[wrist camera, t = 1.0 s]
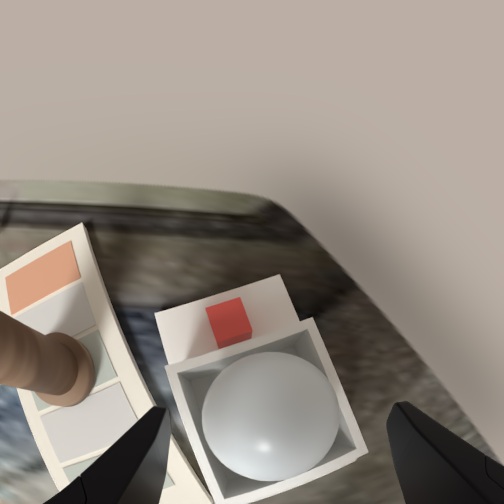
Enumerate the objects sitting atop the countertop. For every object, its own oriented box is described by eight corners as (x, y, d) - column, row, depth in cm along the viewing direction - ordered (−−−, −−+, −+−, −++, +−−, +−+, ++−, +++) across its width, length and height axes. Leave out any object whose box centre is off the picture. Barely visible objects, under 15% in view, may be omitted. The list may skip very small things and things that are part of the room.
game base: (351, 458, 18) (385, 470, 13) (224, 506, 16) (219, 535, 11) (278, 279, 23) (288, 242, 19) (157, 317, 22) (135, 289, 17)
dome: (336, 442, 15) (381, 454, 9) (231, 481, 14) (227, 516, 8) (297, 346, 17) (323, 316, 12) (193, 381, 16) (170, 368, 11)
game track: (213, 500, 16) (211, 504, 15) (94, 537, 13) (88, 541, 12) (86, 228, 25) (81, 221, 24) (-1, 277, 22) (-7, 272, 21)
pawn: (106, 392, 18) (-44, 348, 6) (50, 416, 16) (-104, 387, 5) (80, 325, 20) (-49, 225, 8) (28, 351, 18) (-108, 278, 7)
